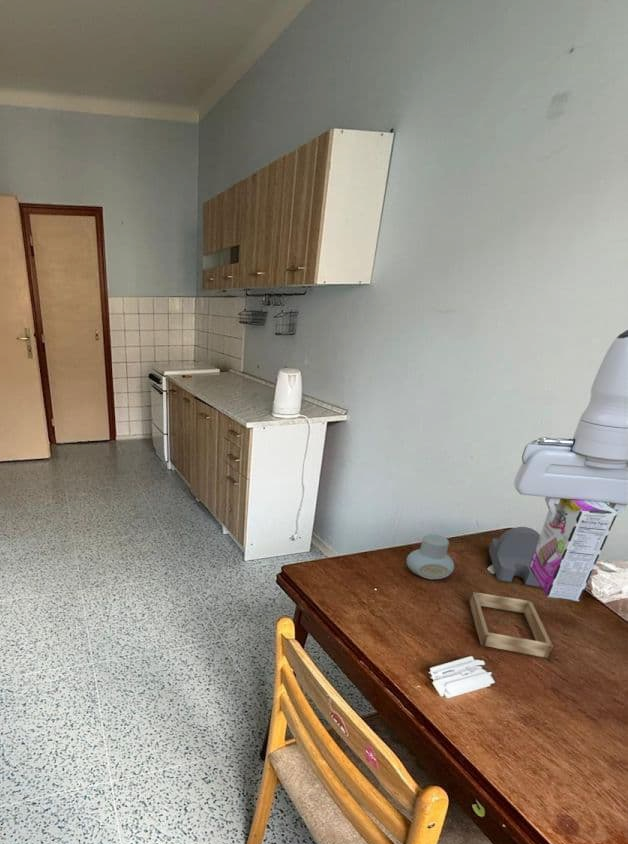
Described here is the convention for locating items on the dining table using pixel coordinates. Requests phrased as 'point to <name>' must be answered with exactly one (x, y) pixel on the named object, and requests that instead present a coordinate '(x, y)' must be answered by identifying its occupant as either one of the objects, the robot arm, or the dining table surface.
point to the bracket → (514, 554)
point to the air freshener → (431, 558)
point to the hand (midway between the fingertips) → (575, 524)
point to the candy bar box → (571, 547)
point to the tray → (508, 642)
